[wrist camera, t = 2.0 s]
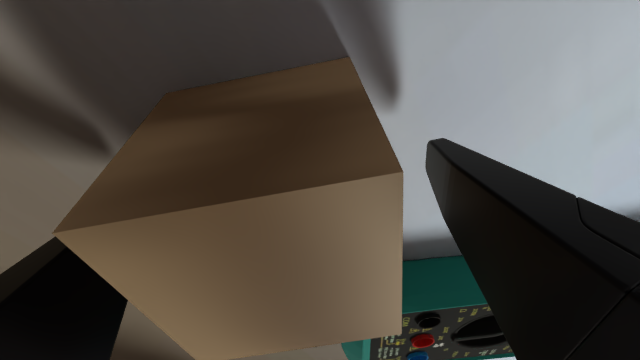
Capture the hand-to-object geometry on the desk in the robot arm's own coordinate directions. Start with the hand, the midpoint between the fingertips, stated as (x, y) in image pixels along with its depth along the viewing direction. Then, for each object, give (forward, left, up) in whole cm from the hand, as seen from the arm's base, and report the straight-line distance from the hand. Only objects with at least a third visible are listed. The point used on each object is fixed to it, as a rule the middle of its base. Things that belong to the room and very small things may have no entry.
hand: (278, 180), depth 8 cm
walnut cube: (0, 0, -2) cm, 2 cm away
